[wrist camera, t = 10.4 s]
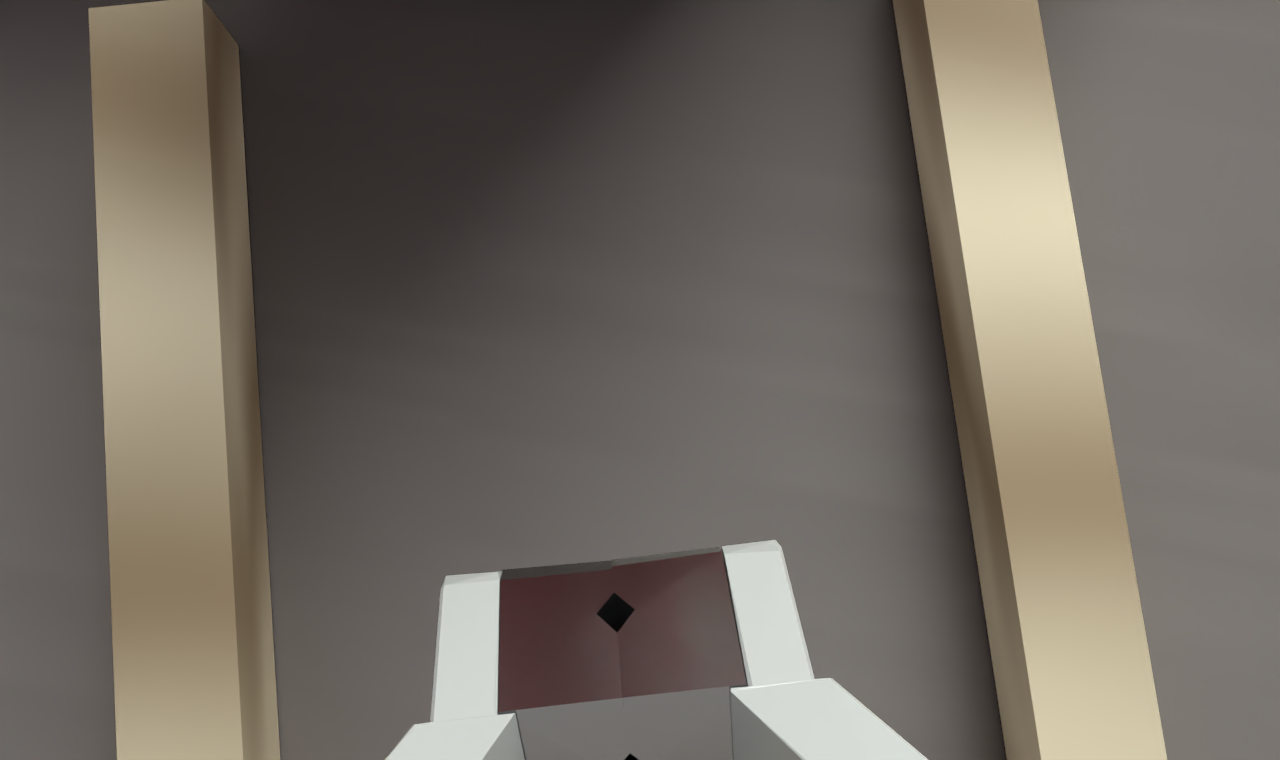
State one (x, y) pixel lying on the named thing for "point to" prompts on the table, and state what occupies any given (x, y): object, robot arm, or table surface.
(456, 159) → the table surface
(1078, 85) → the table surface
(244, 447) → the guide channel
